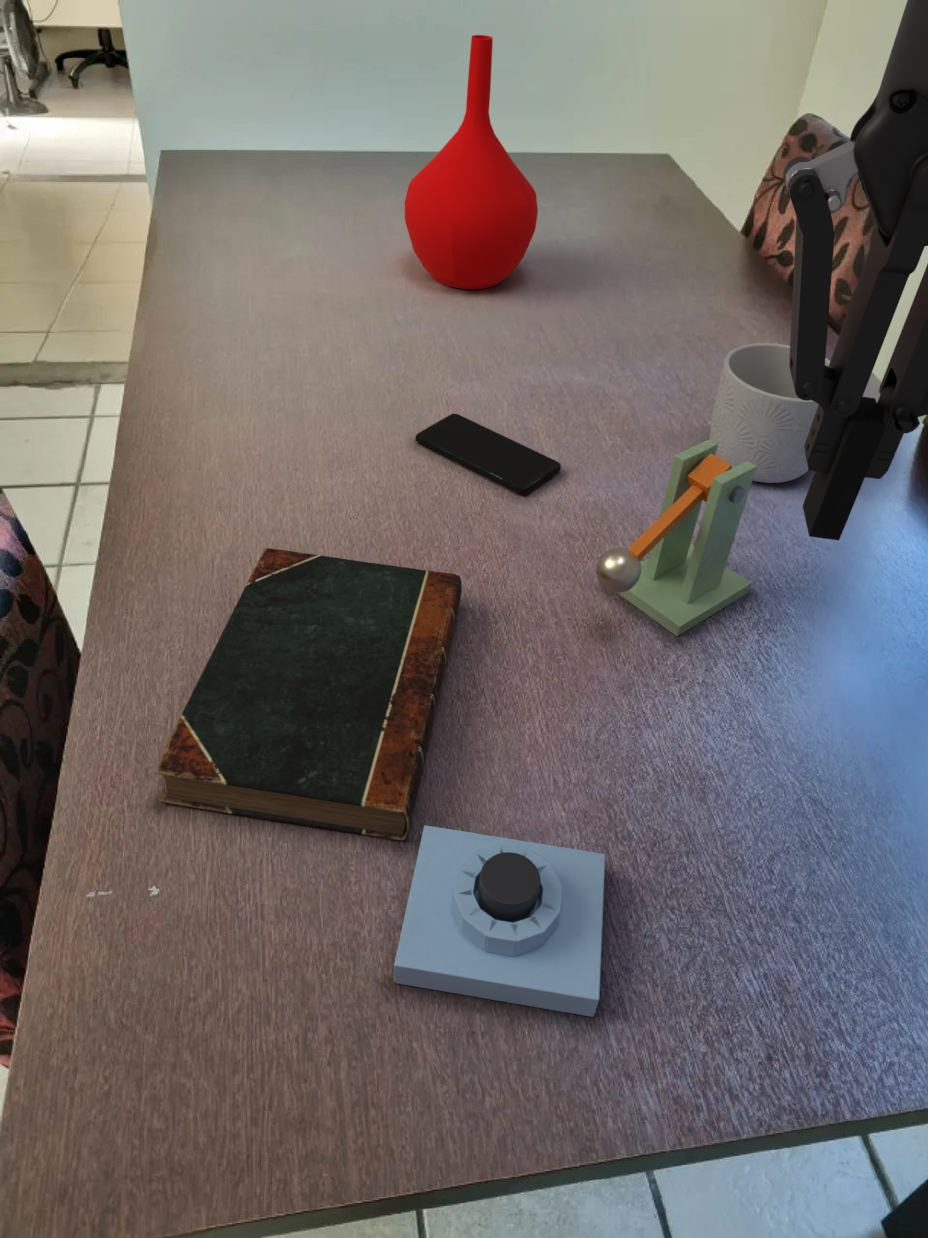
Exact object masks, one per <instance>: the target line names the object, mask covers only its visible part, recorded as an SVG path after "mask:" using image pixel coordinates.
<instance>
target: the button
mask: <svg viewBox="0 0 928 1238" xmlns="http://www.w3.org/2000/svg"><path fill="white" fill-rule="evenodd" d="M539 888H540V874H539V871H538V869H537V868H536V866H535V865H534V863H533V862H532V861H531V860H529V859H528V858H526V857H525V856H523V855H520V854H517V853H512V852H505V853H499V854H496V855H494V856H492V857H491V858H489V859H488V860H487V861H486V862H485V864H484V865H483V867H482V869H481V873H480V881H479V889H478V895H479V899H480V902H481V904H482V905H483V907H484V908H485V909H486V910H487V911H488V912H489V913H490V914H491V915H493V916H495V917H497V918H500V919H504V920H516V919H520V918H522V917H524V916H526V915H527V914H529V913H530V912H531V911H532V910H533V908H534V907H535V905H536V902H537V898H538V893H539Z"/></svg>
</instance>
